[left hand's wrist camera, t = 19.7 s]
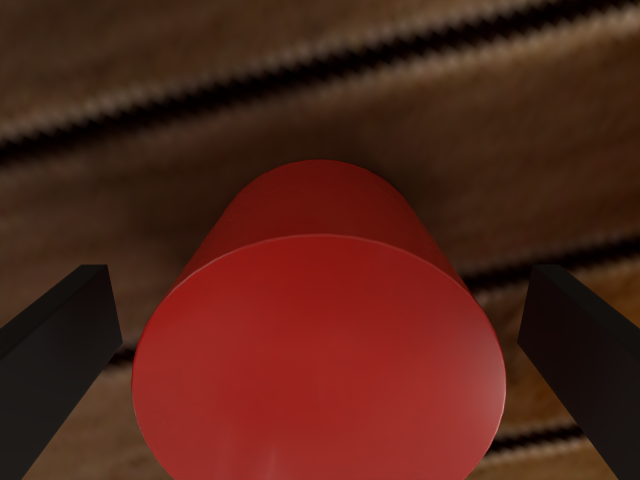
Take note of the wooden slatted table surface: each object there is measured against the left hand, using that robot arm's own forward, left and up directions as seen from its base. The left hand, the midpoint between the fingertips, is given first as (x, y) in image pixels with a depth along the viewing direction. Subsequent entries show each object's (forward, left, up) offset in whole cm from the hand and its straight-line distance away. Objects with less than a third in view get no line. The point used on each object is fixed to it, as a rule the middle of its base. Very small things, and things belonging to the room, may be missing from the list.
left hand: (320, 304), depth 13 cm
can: (0, 0, -3) cm, 3 cm away
